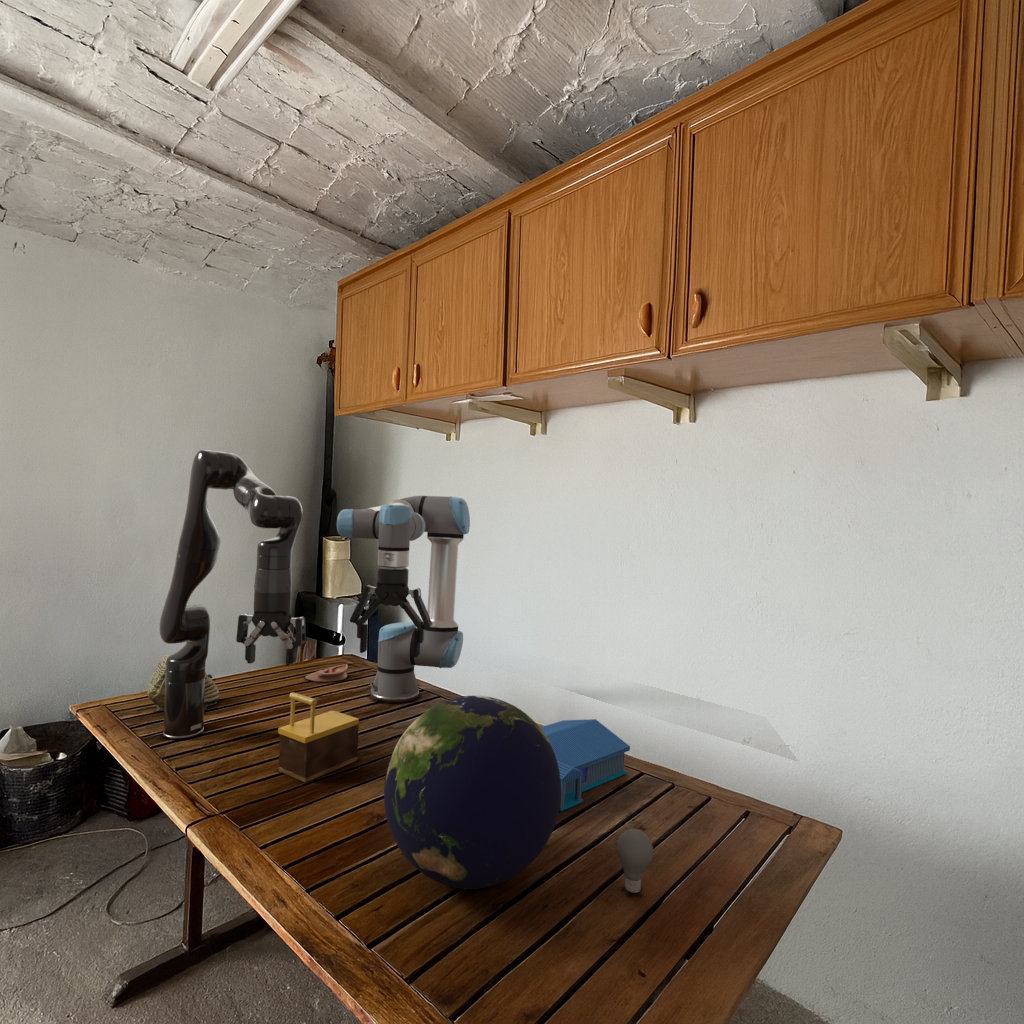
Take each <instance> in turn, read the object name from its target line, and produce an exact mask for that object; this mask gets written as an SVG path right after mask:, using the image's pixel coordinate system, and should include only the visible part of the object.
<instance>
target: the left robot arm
mask: <svg viewBox="0 0 1024 1024" xmlns="http://www.w3.org/2000/svg"><path fill="white" fill-rule="evenodd" d="M209 489H214V490H232V494H233V497H234V499H235V501H236V503H238V505H239V506H241V507H242V508H244V510H246V511H247V514H248V516H249V519H250V522H251V523H252V525H253V526H255V527H257V528H259V529H278V531H277V534H276V535H275V536H273V537H272V538H268V539H263V540H261V541H260V542H258V543H257V544H258V545H257V548H256V549H257V550H256V568H255V569H256V570H255V575H254V583H253V588H254V590H253V591H254V592H253V614H249V612H245V613H241V614H240V615H238V619H237V629H236V637H235V639H236V641H235V642H237V643H238V644H239V643H241V644H243V645H244V647H245V651H244V660H245V661H246V663H247V664H250V665H251V664H253V663H255V661H256V650H257V649H256V647H257V645H256V644H255V643H256V641H257V640H258V639H259V638H260V637H261V636H262V637H272V638H278V637H279V639H280V640H281V641H282V642H283V643H284V645H285V646H286V653H285V654H286V657H285V666H286V667H291V666H293V665H294V663H296V660H297V648H298V647H301V646H303V645H305V644H306V642H307V641H306V640H307V637H306V636H307V635H306V634H307V633H306V630H307V629H306V617H305V616H300V617H292V615H291V610H292V594H293V593H292V592H293V572H292V567H293V566H292V565H293V564H292V563H293V548H294V545H295V542H296V538H297V535H298V531H299V529H300V526H301V523H302V519H303V507H302V504H301V501H300V500H299V499H298V498H297V497H295V496H292V495H291V496H290V495H277V493H276V492H275V491H274V489H273V488H272V487H270V486H269V485H267V484H266V483H265V482H264V481H262V480H260V479H259V478H258V477H257V476H256V475H255V474H254V473H253V471H252V470H251V468H250V467H249V466H248V464H247V463H246V462H245V461H244V460H243V458H242V457H241V456H239V455H238V454H236V453H232V452H227V451H226V452H225V451H219V450H210V449H200V450H198V451H197V452H196V453H195V455H194V458H193V460H192V463H191V469H190V478H189V485H188V495H187V503H186V509H185V513H184V519H183V525H182V528H181V533H180V535H179V536H180V537H179V540H178V546H177V551H176V555H175V557H176V558H175V563H174V568H173V573H172V577H171V582H170V585H169V589H168V593H167V595H166V598H165V601H164V605H163V608H162V611H161V615H160V618H159V636H160V638H161V641H163V642H164V644H169V645H172V644H173V645H174V644H183V643H185V644H184V646H183V647H182V648H181V649H179V650H178V651H176V652H174V653H172V654H169V655H170V656H169V657H168V658H167V660H166V674H165V705H164V710H163V731H162V737H164V738H166V739H169V740H185V739H190V738H191V739H192V738H194V737H197V736H199V735H202V734H203V732H204V730H205V729H204V722H205V721H204V718H205V712H206V711H207V709H208V707H209V705H207V703H206V704H204V693H205V672H206V664H207V663H206V662H207V658H208V655H209V644H210V632H211V616H210V613H209V610H208V608H207V607H206V606H205V605H203V604H192V605H191V604H190V605H188V602H189V600H190V598H191V596H192V594H193V593H194V591H195V590H196V589H197V588H198V586H199V585H200V584H202V582H203V581H204V580H205V579H206V578H207V577H208V575H210V573H211V572H212V570H213V569H214V567H215V565H216V564H217V560H218V555H219V551H220V547H221V535H220V531H219V530H218V528H217V526H216V523H215V521H214V519H213V517H212V515H211V514H210V513H211V512H210V510H209V507H208V500H207V499H208V491H209ZM251 622H252V624H253V625H254V629H252V631H251V632H250V634H249V625H250V624H251ZM291 624H292V625H293V628H294V629H295V631H294V632H295V637H294V633H293V632H292V630H291V629H290V628H289V627H290V626H291ZM248 634H249V635H248ZM207 676H208V677H209V678H211V679H213V678H214V677H213V675H212V674H207Z"/></svg>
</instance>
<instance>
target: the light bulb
mask: <svg viewBox="0 0 1024 1024" xmlns="http://www.w3.org/2000/svg"><path fill="white" fill-rule="evenodd" d="M615 849H616V854H617V857H618V859H619V861H620V863H621V865H622V867H623V873H624V874H623V875H624V876H625V878H624V888H625V890H627V891H628V892H630V893H634V894H635V893H639V892H640V891H641V889H642V887H641V886H642V879H643V877H644V875H645V871H646V868H647V867H648V866H649V864H650V863H651V861H652V859H653V855H654V847H653V843H652V841H651V838H649V836H648V835H647V834H646V833H645V832H643V831H642V830H641V829H636V828H629V829H627V830H625V831H623V832H622V833H621V834H620V835H619V837H618V839H617V841H616V847H615Z"/></svg>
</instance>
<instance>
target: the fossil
mask: <svg viewBox="0 0 1024 1024" xmlns="http://www.w3.org/2000/svg"><path fill="white" fill-rule="evenodd" d="M170 655H171V654H165V655H164V656H163V657H162V658H161V659H160V660H159V662H158V663H157V666H156V667H155V669H154V670H153V672H152V675H151V677H150V680H149V684H148V688H147V697H148V699H149V700H150V701H152V703H153V704H154V706H155V711H158V712H159V711H162V712H163V711H164V705H165V674H166V660H167V658H168V657H169V656H170ZM207 675H208V674H207V672H206V671H205V693H204V704H206V703H207V705H208V706H213V705H215V704H217V703H218V701H219V699H220V698H221V696H220V690H219V688H218V686H217V685H216V683H215V682H214V681H213V678H209V677H208V676H207Z"/></svg>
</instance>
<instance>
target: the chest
mask: <svg viewBox="0 0 1024 1024" xmlns="http://www.w3.org/2000/svg"><path fill="white" fill-rule="evenodd" d="M359 726H360V723H359V724H357V725H354V726H352V727H349V728H346V729H343V730H341V731H338V732H335V733H332V734H330V735H327V736H324V737H321V738H319V739H316V740H313V741H310V742H308V743H303V742H300V741H297V740H295V739H292V738H289V737H287V736H284V735H281V734H279V752H278V772H280V773H282V774H284V775H287V776H290V777H292V778H294V779H296V780H298V781H301V782H303V783H307V782H310V781H312V780H314V779H317V778H319V777H322V776H324V775H326V774H329V773H331V772H333V771H336V770H338V769H340V768H342V767H345V766H347V765H350V764H352V763H354V762H357V761H358V760H359V757H358V756H359V755H358V754H359V750H358V749H359V729H360V727H359Z"/></svg>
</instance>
